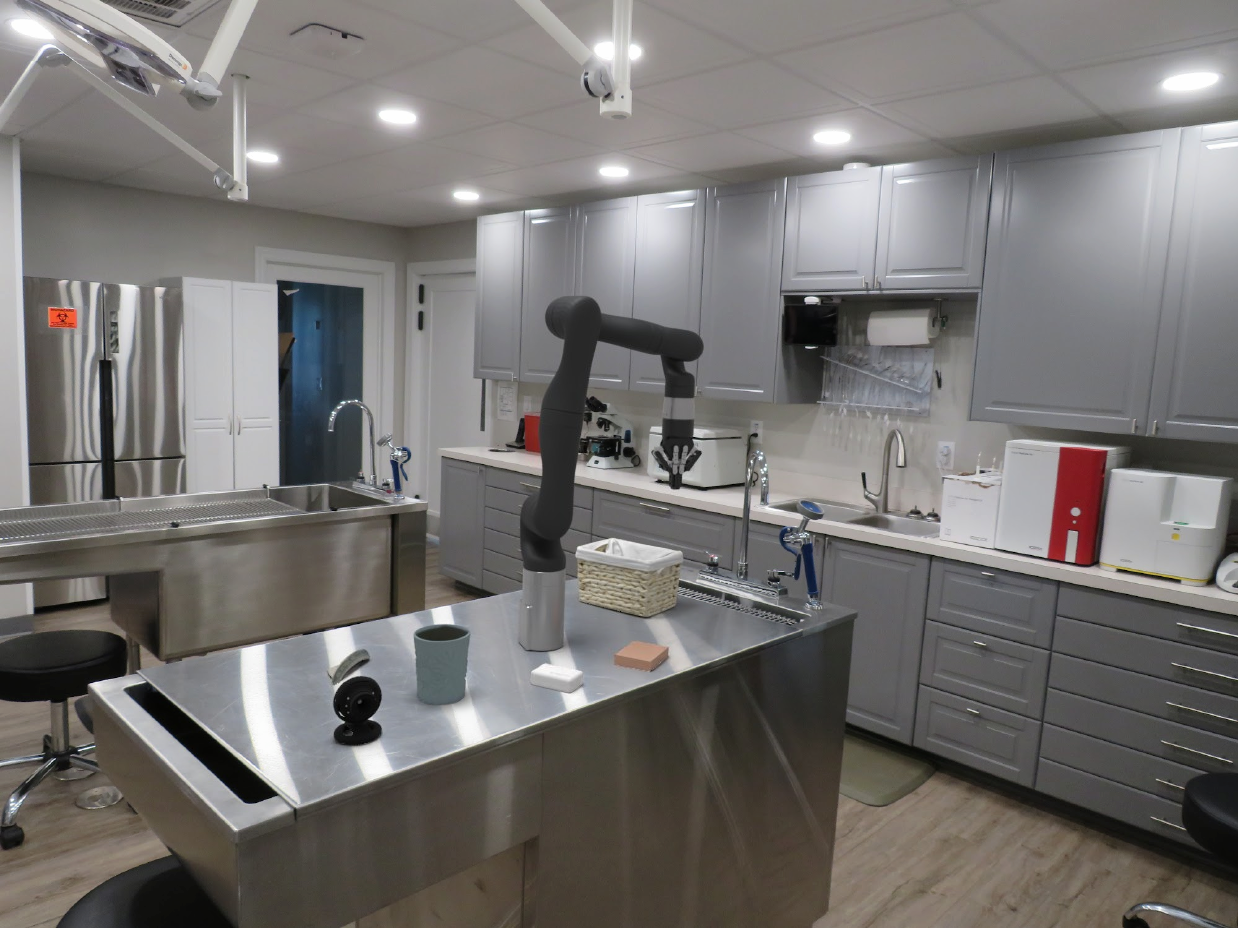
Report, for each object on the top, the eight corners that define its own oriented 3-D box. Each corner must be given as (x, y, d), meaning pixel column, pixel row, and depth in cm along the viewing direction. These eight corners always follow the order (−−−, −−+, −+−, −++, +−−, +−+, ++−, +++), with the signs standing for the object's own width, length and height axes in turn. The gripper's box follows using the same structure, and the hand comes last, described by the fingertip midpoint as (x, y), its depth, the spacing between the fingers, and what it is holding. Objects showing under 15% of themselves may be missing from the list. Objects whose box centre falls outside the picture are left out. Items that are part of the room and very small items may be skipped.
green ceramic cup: (414, 708, 146) (414, 642, 145) (411, 686, 156) (412, 624, 154) (472, 703, 149) (473, 639, 148) (466, 682, 159) (467, 621, 157)
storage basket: (571, 601, 214) (572, 545, 212) (609, 589, 227) (611, 536, 225) (647, 621, 200) (649, 562, 198) (683, 607, 212) (686, 550, 211)
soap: (584, 685, 160) (584, 670, 160) (570, 695, 155) (570, 679, 155) (543, 676, 164) (544, 661, 164) (529, 685, 159) (529, 670, 159)
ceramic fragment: (335, 686, 155) (335, 667, 155) (310, 683, 156) (310, 663, 156) (373, 662, 169) (373, 643, 168) (349, 659, 170) (350, 641, 169)
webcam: (341, 750, 130) (340, 689, 129) (326, 732, 136) (326, 673, 135) (389, 738, 135) (389, 679, 133) (373, 721, 141) (373, 664, 139)
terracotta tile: (634, 640, 179) (614, 654, 170) (668, 646, 176) (650, 661, 167) (633, 651, 180) (614, 666, 171) (668, 658, 176) (650, 673, 167)
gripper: (660, 417, 190) (657, 492, 192) (710, 418, 195) (707, 490, 197) (646, 415, 197) (643, 487, 199) (695, 415, 202) (692, 485, 204)
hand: (675, 489), depth 198 cm, fingers closed
